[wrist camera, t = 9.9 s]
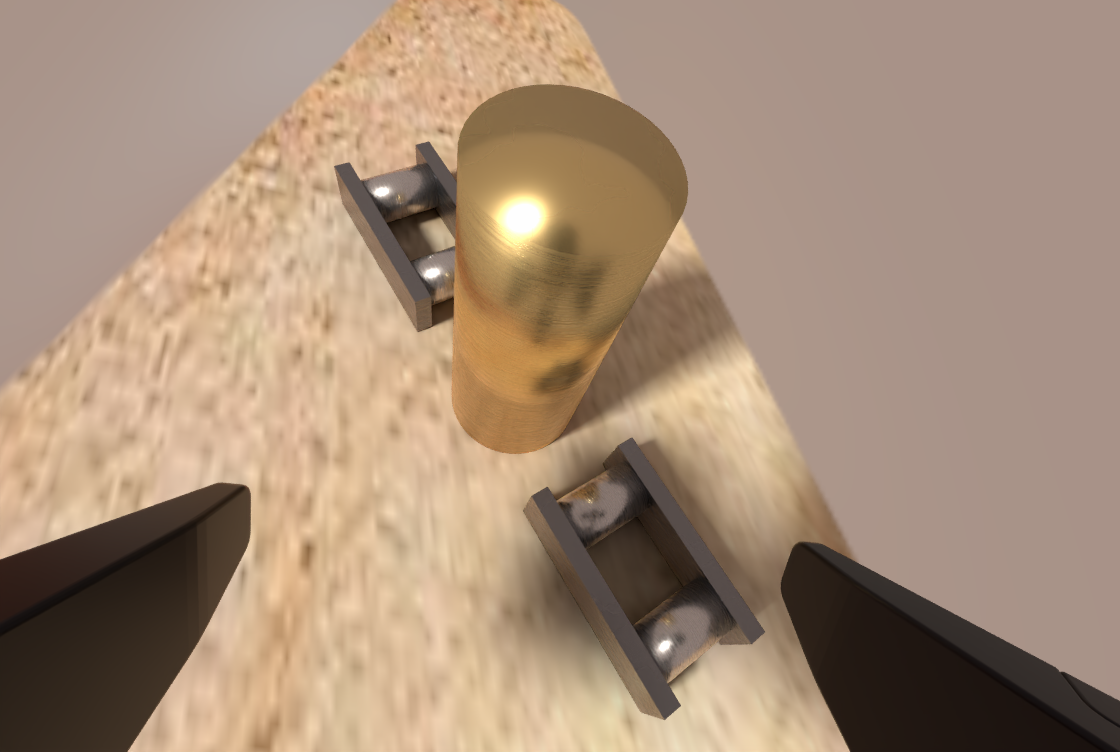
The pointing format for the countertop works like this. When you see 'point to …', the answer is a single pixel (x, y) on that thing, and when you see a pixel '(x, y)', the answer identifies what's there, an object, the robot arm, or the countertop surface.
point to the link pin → (550, 252)
